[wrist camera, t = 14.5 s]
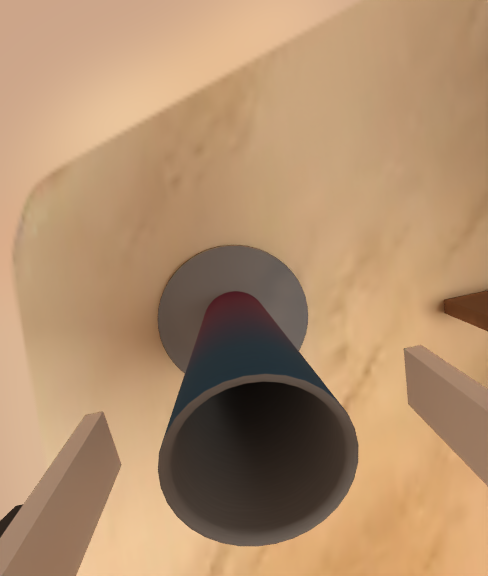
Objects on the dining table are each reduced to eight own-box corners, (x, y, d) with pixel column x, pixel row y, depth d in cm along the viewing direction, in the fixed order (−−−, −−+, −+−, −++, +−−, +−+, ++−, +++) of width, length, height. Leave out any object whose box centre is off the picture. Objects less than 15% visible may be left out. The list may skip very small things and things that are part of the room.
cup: (279, 279, 25) (369, 372, 10) (275, 360, 26) (349, 541, 12) (191, 279, 24) (153, 376, 10) (192, 361, 26) (161, 553, 11)
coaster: (141, 262, 24) (139, 263, 24) (293, 231, 25) (295, 231, 24) (179, 398, 27) (178, 402, 26) (315, 368, 27) (317, 371, 27)
